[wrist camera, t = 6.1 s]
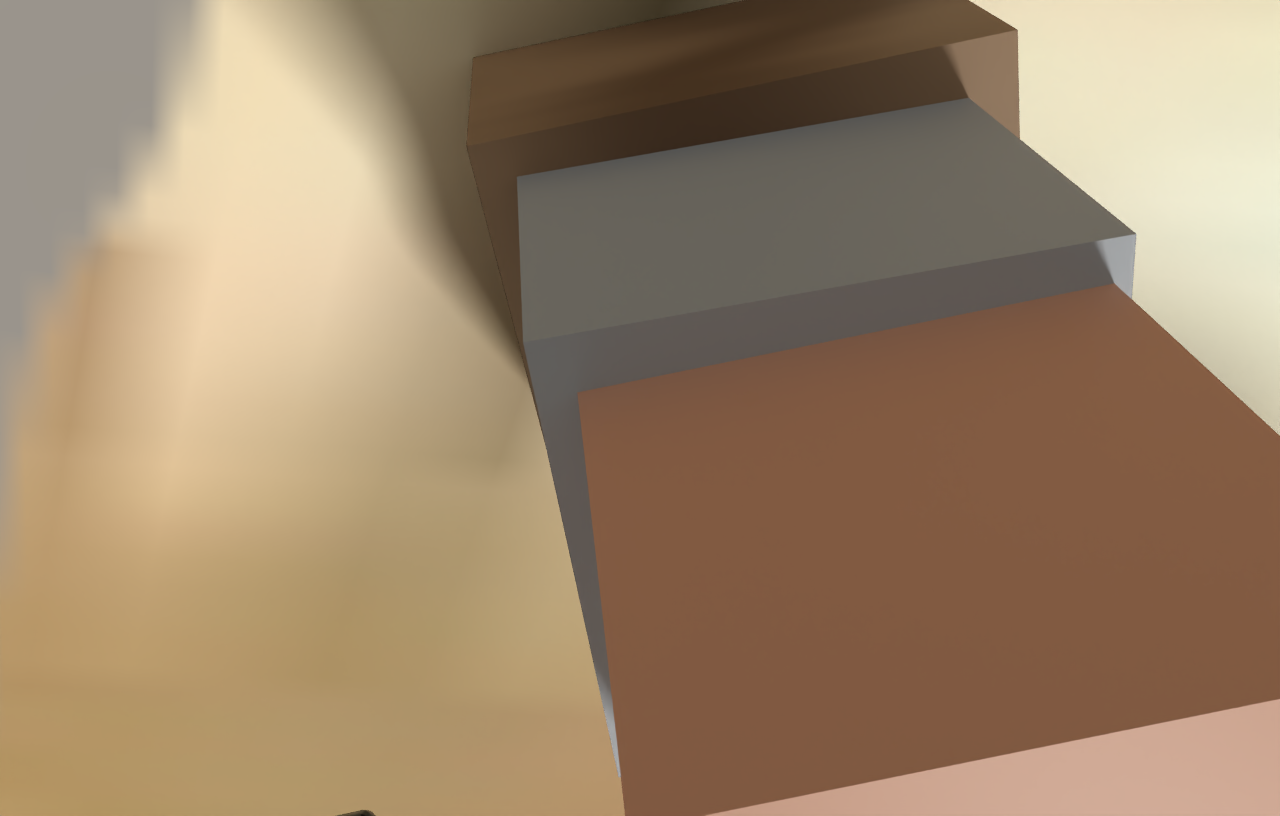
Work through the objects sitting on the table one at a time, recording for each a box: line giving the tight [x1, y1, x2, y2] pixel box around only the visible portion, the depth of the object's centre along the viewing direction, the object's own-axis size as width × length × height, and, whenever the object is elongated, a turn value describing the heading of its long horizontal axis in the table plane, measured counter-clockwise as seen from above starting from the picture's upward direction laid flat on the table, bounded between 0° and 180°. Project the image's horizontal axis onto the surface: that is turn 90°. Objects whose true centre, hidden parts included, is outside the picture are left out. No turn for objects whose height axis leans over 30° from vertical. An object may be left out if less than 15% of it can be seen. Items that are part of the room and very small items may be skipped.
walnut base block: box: [467, 0, 1020, 445], centre depth 16 cm, size 6×6×4 cm
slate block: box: [517, 98, 1136, 777], centre depth 13 cm, size 5×5×4 cm
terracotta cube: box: [577, 283, 1280, 816], centre depth 9 cm, size 4×4×4 cm
